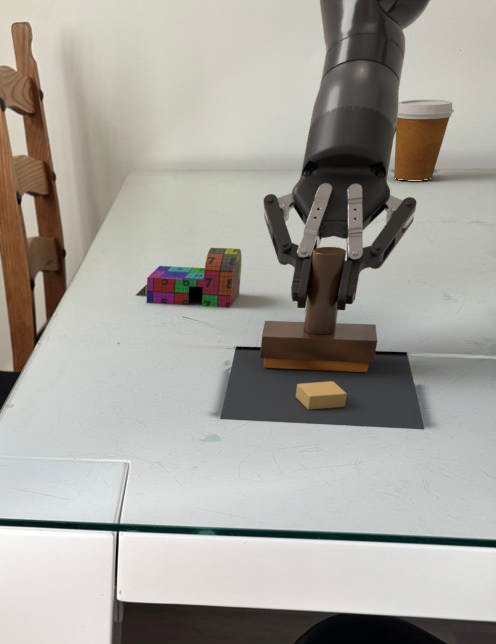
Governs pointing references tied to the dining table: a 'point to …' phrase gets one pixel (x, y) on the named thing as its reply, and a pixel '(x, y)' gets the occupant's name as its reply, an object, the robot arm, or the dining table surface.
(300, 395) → the tan flat square block
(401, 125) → the disposable coffee cup
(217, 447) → the dining table surface
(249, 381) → the scrub mat
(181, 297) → the block
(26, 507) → the dining table surface
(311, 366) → the scrub brush
